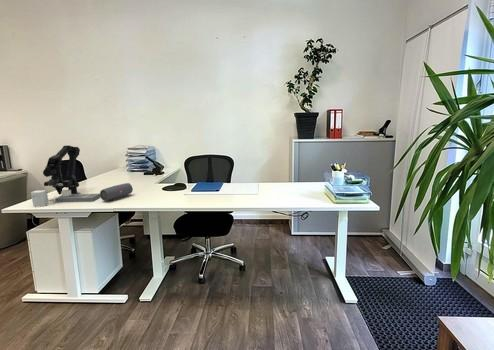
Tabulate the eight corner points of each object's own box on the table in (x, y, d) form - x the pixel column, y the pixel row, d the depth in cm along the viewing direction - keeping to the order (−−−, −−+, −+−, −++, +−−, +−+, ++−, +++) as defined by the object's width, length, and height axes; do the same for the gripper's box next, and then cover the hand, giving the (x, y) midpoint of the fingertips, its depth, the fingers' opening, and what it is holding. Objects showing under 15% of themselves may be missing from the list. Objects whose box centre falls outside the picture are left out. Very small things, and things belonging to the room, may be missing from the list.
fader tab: (65, 195, 234) (64, 190, 234) (71, 194, 234) (70, 189, 233) (61, 196, 230) (60, 191, 230) (68, 196, 230) (67, 191, 229)
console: (65, 197, 239) (65, 194, 238) (101, 197, 238) (100, 193, 237) (55, 202, 227) (55, 198, 227) (92, 201, 226) (92, 197, 225)
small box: (49, 204, 224) (46, 189, 221) (44, 206, 218) (42, 191, 216) (38, 204, 223) (35, 190, 221) (33, 206, 218) (30, 192, 216)
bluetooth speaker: (108, 203, 221) (106, 189, 219) (100, 201, 226) (98, 188, 224) (134, 195, 240) (132, 182, 238) (125, 194, 245) (124, 181, 243)
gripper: (36, 176, 222) (40, 197, 225) (61, 176, 221) (65, 197, 224) (47, 173, 233) (50, 193, 236) (71, 172, 232) (74, 193, 235)
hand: (59, 194), depth 232 cm, fingers closed
